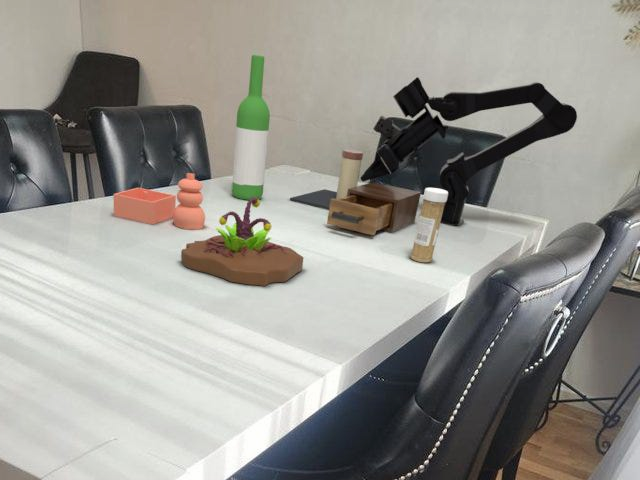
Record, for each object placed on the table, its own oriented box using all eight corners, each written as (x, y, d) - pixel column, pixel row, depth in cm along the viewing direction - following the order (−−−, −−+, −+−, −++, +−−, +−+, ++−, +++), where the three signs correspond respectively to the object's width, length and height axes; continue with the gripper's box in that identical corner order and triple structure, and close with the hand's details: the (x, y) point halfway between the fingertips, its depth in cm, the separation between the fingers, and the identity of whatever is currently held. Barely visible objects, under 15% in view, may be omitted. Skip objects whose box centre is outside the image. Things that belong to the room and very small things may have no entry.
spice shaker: (351, 200, 172) (360, 150, 165) (356, 205, 167) (365, 154, 161) (333, 198, 170) (340, 148, 164) (337, 203, 166) (345, 151, 160)
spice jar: (436, 262, 132) (453, 192, 124) (420, 263, 130) (437, 192, 122) (420, 255, 135) (437, 186, 127) (404, 257, 133) (420, 186, 125)
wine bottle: (261, 202, 159) (275, 58, 143) (230, 198, 159) (239, 53, 142) (262, 196, 166) (275, 57, 149) (232, 192, 165) (242, 52, 149)
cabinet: (391, 233, 149) (398, 200, 145) (342, 220, 153) (347, 188, 149) (414, 222, 161) (421, 192, 157) (368, 211, 165) (373, 181, 161)
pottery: (113, 215, 133) (112, 163, 128) (138, 208, 141) (137, 158, 135) (192, 233, 129) (194, 180, 123) (212, 224, 136) (215, 174, 131)
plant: (319, 269, 119) (328, 204, 112) (260, 292, 104) (267, 219, 98) (231, 242, 126) (235, 181, 120) (164, 261, 112) (165, 192, 106)
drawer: (365, 238, 138) (370, 212, 135) (318, 226, 142) (322, 201, 139) (396, 225, 152) (401, 201, 149) (352, 214, 156) (356, 191, 153)
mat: (324, 191, 181) (324, 189, 180) (390, 206, 174) (390, 204, 173) (289, 200, 166) (290, 197, 165) (360, 217, 159) (361, 214, 158)
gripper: (400, 102, 162) (349, 145, 170) (395, 107, 147) (339, 153, 155) (424, 141, 166) (373, 181, 173) (421, 150, 151) (366, 193, 158)
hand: (363, 177), depth 165 cm, fingers open, 9 cm apart
